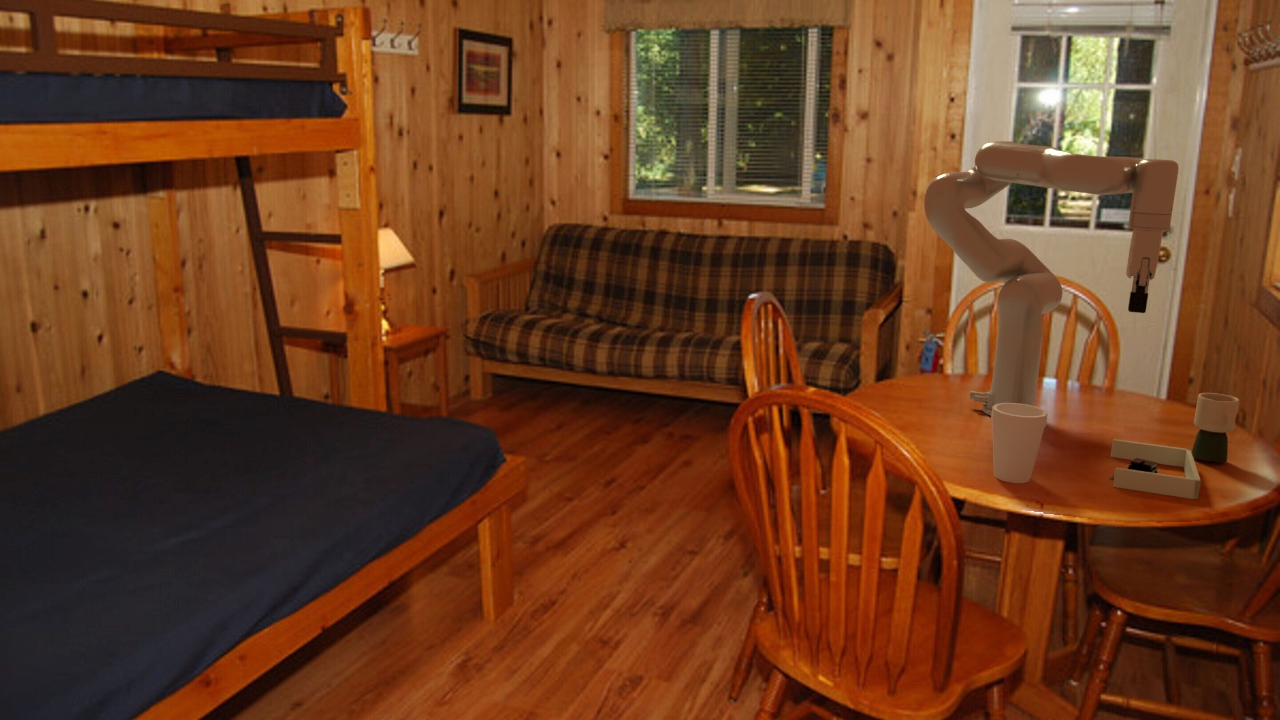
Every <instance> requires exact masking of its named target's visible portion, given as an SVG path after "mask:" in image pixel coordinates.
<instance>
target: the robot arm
mask: <svg viewBox="0 0 1280 720" xmlns="http://www.w3.org/2000/svg"><path fill="white" fill-rule="evenodd" d="M1179 170H1180V169H1179V164H1178V162H1177V161H1175V160H1171V159H1157V158H1156V159H1153V158H1151V159H1150V158H1149V159H1148V158H1147V159H1137V158H1133V157H1128V156H1099V155H1097V156H1096V155H1088V154H1081V153H1080V154H1078V153H1072V152H1071V153H1070V152H1065V151H1061V150H1059V148H1057V147H1054V146H1047V145H1035V144H1027V143H1019V142H1016V141H1012V140H1011V141H1009V140H1008V141H1006V140H1005V141H1004V140H1001V141H999V140H997V141H996V140H995V141H990V142H987V143H985V144H983V146H981V147H980V148H979V149H978V151H977V152H976V154H975V158H974V166H973V167H972V168H969V170H967V171H955V172H946V173H943V174H940V175H938V176H937V177H935V178H934V179H933V180H931V182H930V183H929V185H928V186H927V188H926V190H925V194H924V200H923V202H924V203H923V205H924V212H925V215H926V219H927V221H928V223H929V225H930V227H931V228H932V229H933V230H934V232H935V233H936V234H937V235H938V236H939V237H940V238H941V239H942V240H943V241H944V242H945V243H946V244H947V246H948V247H949V248H951V250H952V251H953V252H954V253H955V254H956V256H957V257H959V259H961V261H962V262H963V263H964V264H965V265H966V266H967V268H968V269H969V270H970V271H971V272H972V273H973V274H974V275H975V276H976V277H977V278H978V279H979V280H981V281H982V282H985V283H988V284H989V283H995V284H996V283H999V282H1002V283H1004V284H1003V285H1002V287H1001V288H1000V290H999V292H998V295H997V301H996V302H997V333H996V334H997V335H996V343H995V353H994V363H993V371H992V381H991V388H990V389H989V391H984V392H980V391H977V390H976V391H975V390H970V392H969V400H974V402H979V403H980V402H981V403H982V406H981V411H982V412H983V413H984V414H986V415H987V416H991V415H992V406H994V405H995V404H1000V403H1019V404H1026V405H1031V406H1035V407H1036V405H1035V404H1036V396H1037V388H1038V382H1039V381H1038V379H1039V373H1040V365H1041V364H1040V363H1041V355H1042V347H1043V332H1044V329H1043V318H1042V317H1043V315H1044V314H1047V313H1050V312H1051V311H1053V310H1055V309H1056V308H1057V307H1059V305H1060V304H1061V301H1062V299H1063V286H1062V285H1061V282H1060V280H1059V279H1058V278H1057V276H1056V275H1055V274H1054V273H1053V272H1052V271H1051V270H1050V269H1049V268H1048V267H1047V266H1046V265H1045V264H1044V263H1043V262H1042V260H1041V259H1039V258H1038V257H1037V256H1036V255H1035V254H1034V253H1033V251H1031V250H1030V249H1029V248H1028V247H1027V246H1026V245H1025V244H1023V243H1021V242H1020V241H1018V240H1016V239H1012V238H1000V239H999V238H998V237H996V236H995V235H993V234H992V233H991V232H990V231H989V230H988V229H987V228H986V227H985V226H984V224H983V223H982V222H980V221H979V219H977V218H975V216H973V215H971V214H970V213H969V212H968V211H967V210H968V209H973V208H977V207H979V206H981V205H982V204H985V202H987V201H989V200H990V199H992V198H993V197H994V196H996V195H997V194H999V193H1000V192H1001V191H1003V190H1004V189H1005V188H1007V187H1008V186H1010V185H1011V184H1012V183H1013V184H1021V185H1025V186H1026V185H1027V186H1034V187H1040V188H1045V189H1057V190H1063V191H1069V192H1075V193H1084V194H1089V195H1099V196H1109V195H1121V194H1122V195H1123V194H1132V198H1131V203H1130V210H1129V219H1128V225H1127V228H1128V229H1129V230H1130V229H1131V230H1132V235H1131V240H1130V246H1129V252H1128V258H1127V264H1126V265H1127V266H1126V272H1125V273H1126V277H1127V278H1128V279H1131V278H1132V277H1133V280H1132V286H1131V291H1130V293H1129V299H1128V307H1127V309H1128V312H1129V313H1137V314H1138V313H1139V314H1145V313H1146V311H1147V305H1148V300H1149V299H1148V298H1149V292H1148V291H1149V285H1150V281H1152V280H1153V279H1155V275H1156V272H1157V267H1158V262H1159V256H1160V251H1161V245H1162V239H1163V232H1169V231H1170V229H1171V225H1172V218H1173V217H1172V216H1173V215H1172V214H1173V210H1174V202H1175V195H1176V190H1177V182H1178V176H1179ZM966 209H967V210H966Z"/></svg>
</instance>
